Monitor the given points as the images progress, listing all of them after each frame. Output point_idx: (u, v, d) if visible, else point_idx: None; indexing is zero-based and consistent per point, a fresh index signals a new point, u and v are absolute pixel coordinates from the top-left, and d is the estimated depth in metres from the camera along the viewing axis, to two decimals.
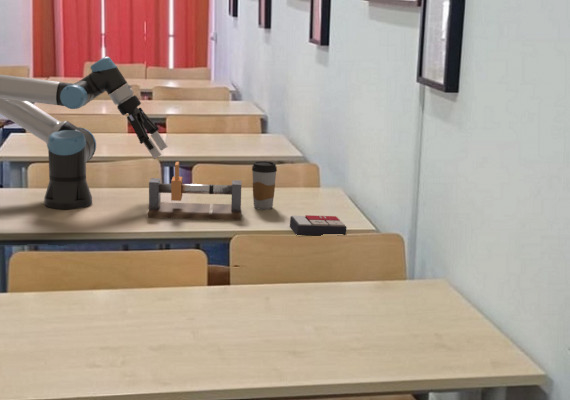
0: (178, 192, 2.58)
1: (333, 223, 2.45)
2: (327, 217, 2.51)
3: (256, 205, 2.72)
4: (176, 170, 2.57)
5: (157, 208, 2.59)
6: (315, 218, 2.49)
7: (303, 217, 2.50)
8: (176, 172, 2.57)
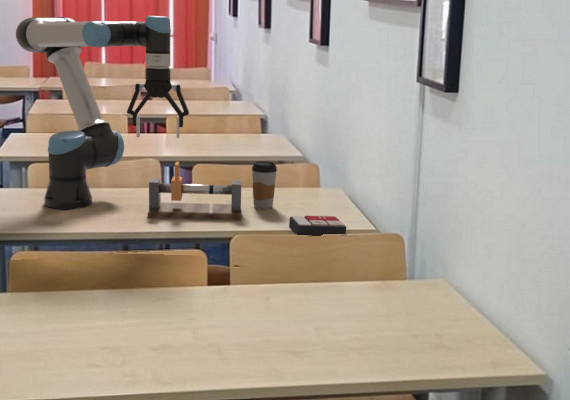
0: (178, 192, 2.58)
1: (333, 223, 2.45)
2: (326, 217, 2.51)
3: (256, 205, 2.72)
4: (176, 170, 2.57)
5: (157, 208, 2.59)
6: (315, 218, 2.49)
7: (302, 217, 2.49)
8: (176, 172, 2.57)
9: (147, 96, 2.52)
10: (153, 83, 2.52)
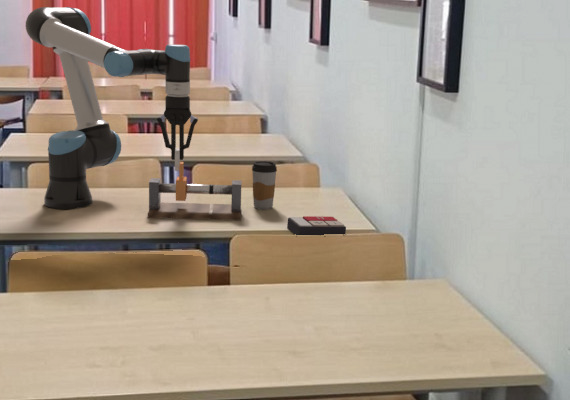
0: (183, 192, 2.58)
1: (333, 223, 2.45)
2: (324, 218, 2.51)
3: (256, 205, 2.72)
4: (180, 170, 2.57)
5: (157, 208, 2.59)
6: (313, 219, 2.48)
7: (301, 218, 2.48)
8: (180, 172, 2.57)
9: (172, 126, 2.54)
10: (170, 108, 2.54)
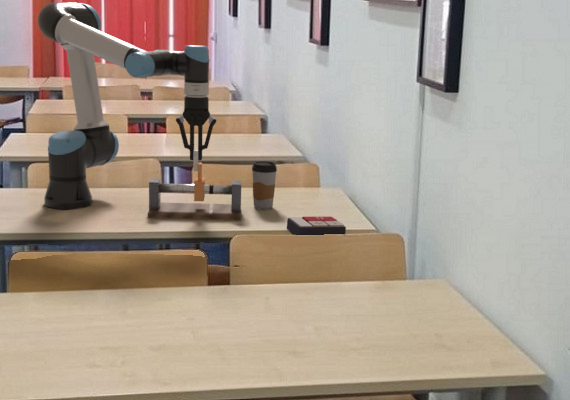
0: (201, 193, 2.58)
1: (332, 224, 2.44)
2: (324, 218, 2.51)
3: (256, 205, 2.72)
4: (199, 171, 2.57)
5: (157, 208, 2.59)
6: (313, 219, 2.48)
7: (301, 218, 2.48)
8: (199, 173, 2.58)
9: (191, 126, 2.55)
10: (189, 109, 2.54)
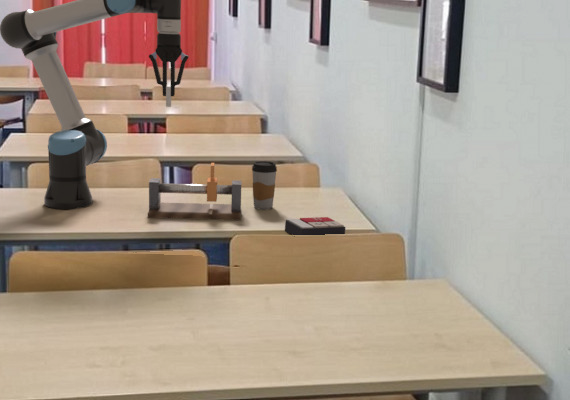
0: (214, 193, 2.59)
1: (332, 224, 2.44)
2: (321, 218, 2.50)
3: (256, 205, 2.72)
4: (212, 171, 2.58)
5: (157, 208, 2.59)
6: (311, 220, 2.46)
7: (299, 220, 2.46)
8: (212, 173, 2.58)
9: (164, 63, 2.63)
10: None
